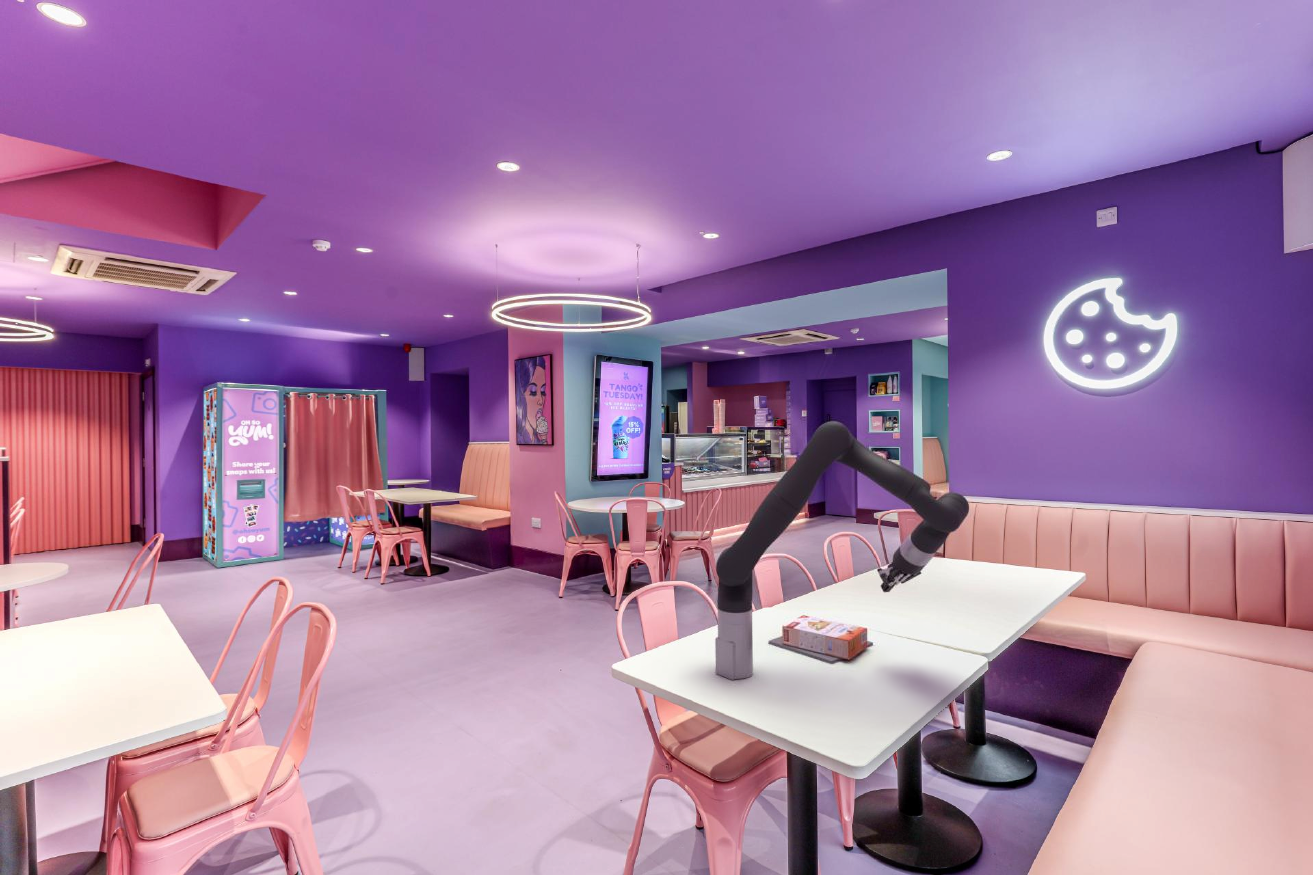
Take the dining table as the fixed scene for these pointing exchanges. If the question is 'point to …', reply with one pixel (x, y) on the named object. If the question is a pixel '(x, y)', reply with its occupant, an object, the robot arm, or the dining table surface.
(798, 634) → the cracker box
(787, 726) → the dining table surface
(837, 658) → the mat
